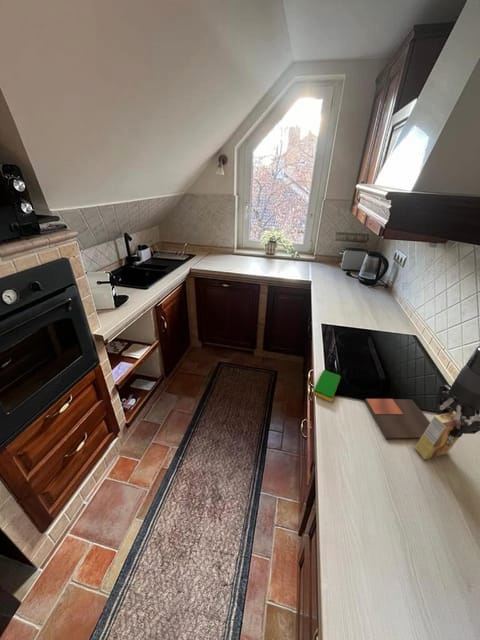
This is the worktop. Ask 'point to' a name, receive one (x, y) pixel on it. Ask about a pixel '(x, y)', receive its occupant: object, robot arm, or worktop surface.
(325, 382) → the dish sponge
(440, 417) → the candy box
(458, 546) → the worktop surface
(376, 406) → the board
